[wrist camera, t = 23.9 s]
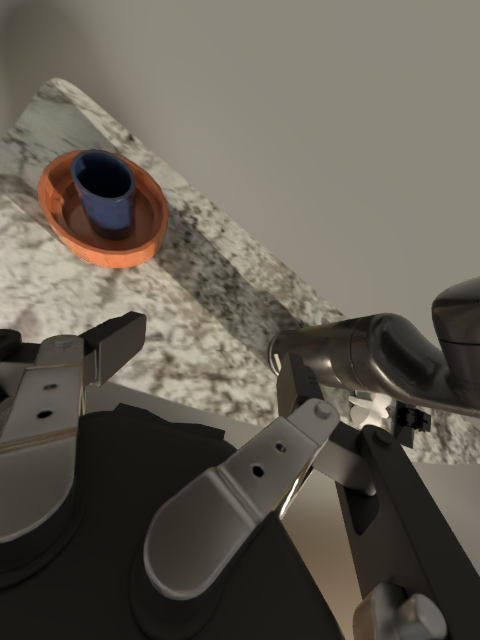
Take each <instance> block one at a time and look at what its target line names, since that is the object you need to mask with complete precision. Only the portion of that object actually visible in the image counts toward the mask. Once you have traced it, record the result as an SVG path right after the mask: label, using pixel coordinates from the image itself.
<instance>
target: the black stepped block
mask: <svg viewBox="0 0 480 640" xmlns="http://www.w3.org/2000/svg"><path fill="white" fill-rule="evenodd" d="M430 428H431V415H429V414H427V413H425V412H423V411H421V410H418V409H416V405H412V404H407V403H404V402H400V401H397V407H396V416H395V425H394V434H393V437H395V438H396V439H397V441H398V442H399V443H400V444H401V445H404V446H406V447H409V448H411V449H413V440H414V430H418V431H419V432H421V431H422V432H425V431H427V432H430Z"/></svg>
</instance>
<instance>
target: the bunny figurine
mask: <svg viewBox="0 0 480 640" xmlns="http://www.w3.org/2000/svg"><path fill="white" fill-rule="evenodd" d="M355 393H356V397H355V396H349V401H351V402H352V403H353V404H355V405H354V406H353V407H352V408H351V411H350V415H351V418H352V421H353V424H352V425H354V426H356V427H358V428H360V429H362V427H363V426H364V425H366V424H372V425H376V426H378V427H380V426H381V424H382V418H381V417H383V418H386V419H387V418H388V416H389V415H388V413H387V411H386V409H385V408H386V407H387V406H388V405H389V404H390V402H391V399H392V398H391V397H389V396H387V395H383V394H376V393H369V392H362V391H355Z"/></svg>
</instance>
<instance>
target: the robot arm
mask: <svg viewBox="0 0 480 640" xmlns="http://www.w3.org/2000/svg"><path fill="white" fill-rule="evenodd" d="M431 309H432V320H433V324H434V328H435V331H436V334H437V337H438V340H439V343H440V345H441V348H442V351H441V350H439V349H438V348H436V347H435V346H434V345H432V344H431V343H430V342H429V341H428V340H427V339H426V338H425V337H424V336H423V335H422V334H421V333H420V332H419V331H418V330H417V328H416V327H415V326H414V325H413V324H412V323H411V322H410V321H408V320H407V319H406V318H404V317H402V316H400V315H397V314H393V313H382V314H376V315H371V316H366V317H360V318H355V319H349V320H345V321H339V322H334V323H328V324H323V325H317V326H312V327H306V328H301V329H295V330H287V331H282V332H280V333H278V334H277V335H276V336H275V337H274V338H273V339H272V341H271V343H270V345H269V349H268V360H269V364H270V367H271V369H272V371H273V372H274V374H275V375H276V376H277V377H278V378H277V384H276V387H277V400H278V413H279V417H278V418H276V419H275V420H274V421H273V422H272V423H270V424H269V425H268V426H267V427H265V428H264V429H263V430H262V431H261V432H259V433H258V434H257V435H256V436H255V437H253V438H252V439H251V440H250V441H249V442H247V443H246V444H245V445H244V446H242V447H241V448H240V449H239V450H237V449H236V448H235V447H234V446H233V445H231V444H230V443H228V442H227V441H225V440H223V439H224V434H225V431H224V430H221V429H217V428H213V427H209V426H205V425H202V424H191V423H171V422H168V421H166V420H164V419H162V418H160V417H158V416H156V415H155V414H153V413H151V412H149V411H147V410H145V409H141V408H138V407H134V406H130V405H126V404H122V403H120V404H119V405H118V406H117V407H116V408H115V410H113V411H99V412H93V413H88V414H85V393H86V392H85V387H86V386H87V385H88V384H91V385H95V386H98V387H101V386H102V385H103V384H104V383H105V382H106V381H107V380H108V379H109V378H111V377H112V376H113V375H114V374H115V373H116V372H117V371H118V370H119V369H120V368H122V367H123V366H124V365H125V364H126V363H127V362H128V361H129V360H130V359H131V358H133V357H134V356H135V355H136V354H137V353H138V352H139V351H140V350H141V349H142V347H143V345H144V342H145V332H146V320H147V318H146V315H145V314H141V313H137V312H133V311H130V312H128V313H127V314H125V315H123V316H121V317H117V318H113V319H109V320H107V321H105V322H103V323H102V324H99V325H98V326H96V327H94V328H92V329H90V330H88V331H86V332H84V333H82V334H80V335H79V336H76V335H57V336H53V337H49V338H47V339H45V340H44V341H42V343H41V344H37V343H22V339H21V334H20V332H18V331H15V330H11V329H0V414H1V413H3V412H4V411H5V410H7V409H8V408H10V410H9V412H8V414H7V417H6V420H5V422H4V425H3V428H2V430H1V433H0V640H345V638H344V635H343V633H342V631H341V629H340V627H339V625H338V623H337V621H336V619H335V617H334V615H333V613H332V612H331V610H330V608H329V606H328V604H327V603H326V601H325V599H324V597H323V595H322V594H321V592H320V590H319V588H318V586H317V585H316V583H315V581H314V579H313V578H312V576H311V574H310V572H309V570H308V569H307V567H306V565H305V563H304V561H303V560H302V558H301V556H300V554H299V552H298V551H297V549H296V547H295V545H294V544H293V542H292V540H291V538H290V537H289V535H288V533H287V531H286V529H285V528H284V526H283V524H282V522H281V520H282V518H283V516H284V515H285V513H286V512H287V510H288V508H289V506H290V505H291V503H292V501H293V500H294V499H295V497H296V495H297V494H298V493H299V491H300V490H301V488H302V487H303V485H304V484H305V482H306V481H307V479H308V478H309V476H310V475H311V474H312V472H313V471H314V469H316V470H318V471H320V472H321V473H323V474H325V475H327V476H328V477H330V478H332V479H333V480H335V484H336V489H337V493H338V497H339V501H340V506H341V510H342V514H343V519H344V523H345V527H346V531H347V535H348V539H349V544H350V548H351V553H352V556H353V561H354V565H355V570H356V574H357V579H358V582H359V587H360V591H361V596H362V600H363V601H362V602H361V603H360V604H359V605H358V606H357V608H356V610H355V612H354V617H353V633H354V640H480V577H479V575H478V573H477V572H476V570H475V568H474V567H473V565H472V563H471V562H470V560H469V558H468V557H467V555H466V553H465V552H464V550H463V548H462V547H461V545H460V543H459V542H458V540H457V538H456V536H455V535H454V533H453V532H452V530H451V528H450V526H449V525H448V523H447V521H446V520H445V518H444V516H443V515H442V513H441V511H440V510H439V508H438V506H437V505H436V503H435V502H434V500H433V498H432V496H431V495H430V493H429V492H428V490H427V488H426V487H425V485H424V483H423V481H422V480H421V478H420V477H419V475H418V473H417V472H416V470H415V468H414V466H413V465H412V463H411V461H410V460H409V458H408V456H407V455H406V453H405V451H404V450H403V448H402V446H401V445H400V443H399V442H398V441H397V439H396V438H395V437H393V436H392V435H391V434H390V433H389V432H387V431H386V430H384V429H382V428H380V427H378V426H376V425H372V424H366V425H364V426H363V427H362V429H361V431H359V430H357V429H355V428H353V427H351V426H349V425H347V424H345V423H343V422H341V421H340V415H339V413H338V412H337V410H336V409H335V408H334V407H333V406H332V405H330V404H329V403H327V402H325V400H324V397H323V394H322V392H321V389H320V386H327V387H334V388H341V389H348V390H355V391H362V392H369V393H376V394H383V395H387V396H389V397H391V398H393V399H395V400H397V401H400V402H404V403H407V404H412V405H417V406H423V407H428V408H432V409H437V410H442V411H446V412H451V413H456V414H460V415H465V416H469V417H474V418H478V419H480V277H477V278H473V279H470V280H467V281H464V282H461V283H459V284H456V285H454V286H452V287H450V288H448V289H446V290H445V291H443V292H442V293H440V294H439V295H438V296H437V297H436V299H435V300H434V301H433V304H432V308H431ZM319 385H320V386H319Z"/></svg>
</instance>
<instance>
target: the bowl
mask: <svg viewBox="0 0 480 640" xmlns="http://www.w3.org/2000/svg"><path fill="white" fill-rule="evenodd" d="M82 151H86V150H77V151H72V152H69V153H67V154H64V155H61V156H58V157H57V158H56V159H55V160H53V161H52V162H51V163H50V164H49V165H48V166H47V167H46V168H45V169H44V171H43V173H42V175H41V178H40V180H39V183H38V197H39V204H40V206H41V208H42V210H43V212H44V214H45V216H46V218H47V221H48V222H49V224H50V225H51V227H52V228H53V230H54V231H55V233H56V234H57V236H58V237H59V239H60V240H61V241H62V242H63V243H64V244H65V245H66V246H67V247H68V248H69V249H70V250H71V251H72V252H73V253H74V254H76V255H77V256H79V257H81V258H83V259H84V260H86V261H88V262H90V263H93V264H96V265H100V266H104V267H108V268H128V267H132V266H135V265H139V264H142V263H144V262H146V261H147V260H148V259H150V258H151V257H153V256H154V255H155V254H156V253H157V251H158V250H159V248H160V247H161V246H162V244H163V239H164V235H165V231H166V226H167V222H168V217H169V215H168V207H167V201H166V199H165V197H164V195H163V192H162V190H161V188H160V186H159V185H158V184H157V183H156V182H155V180H154V179H153V178H152V177H151V176H150V175H149V173H147V172H146V171H145V170H143V169H142V168H141V167H139V166H138V165H137V164H135V163H134V162H132V161H130V160H128V159H126V158H123V157H121V156H119V155H117V154H114V153H111V154H114V155H116V156H118V157H119V158H120V159H122V160H123V161H124V162H125V163H126V164H127V165H128V166H129V168H130V169H131V171H132V172H133V174H134V179H135V193H136V224H135V230H134V232H133V234H132V235H131V236H130V237H128V238H126V239H124V240H119V241H113V240H108V239H105V238H103V237H101V236H99V235H98V234H96V233H95V232H94V231H93V230H92V228H91V227H90V225H89V223H88V221H87V218H86V215H85V213H84V210H83V207H82V204H81V201H80V199H79V196H78V193H77V190H76V188H75V185H74V182H73V179H72V176H71V171H70V165H71V163H72V160H73V158H74V157H75V156H76V155H77V154H79V153H80V152H82Z"/></svg>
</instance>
